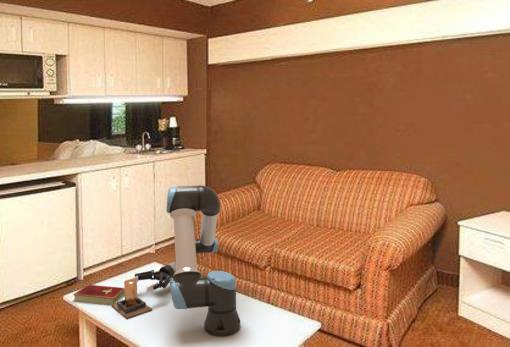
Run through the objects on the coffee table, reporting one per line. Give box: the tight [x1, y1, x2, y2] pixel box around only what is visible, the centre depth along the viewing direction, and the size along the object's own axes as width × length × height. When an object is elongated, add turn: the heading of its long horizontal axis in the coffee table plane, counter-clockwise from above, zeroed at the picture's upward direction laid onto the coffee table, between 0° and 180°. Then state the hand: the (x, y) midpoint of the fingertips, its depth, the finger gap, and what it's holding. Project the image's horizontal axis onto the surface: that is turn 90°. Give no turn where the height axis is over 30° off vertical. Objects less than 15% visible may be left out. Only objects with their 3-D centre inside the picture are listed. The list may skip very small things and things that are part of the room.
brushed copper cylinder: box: [123, 278, 139, 308], centre depth 194 cm, size 6×6×12 cm
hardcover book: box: [72, 284, 125, 306], centre depth 206 cm, size 12×21×4 cm, turn 78°
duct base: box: [111, 296, 153, 320], centre depth 195 cm, size 16×12×3 cm
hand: (136, 286), depth 197 cm, fingers open, 13 cm apart
